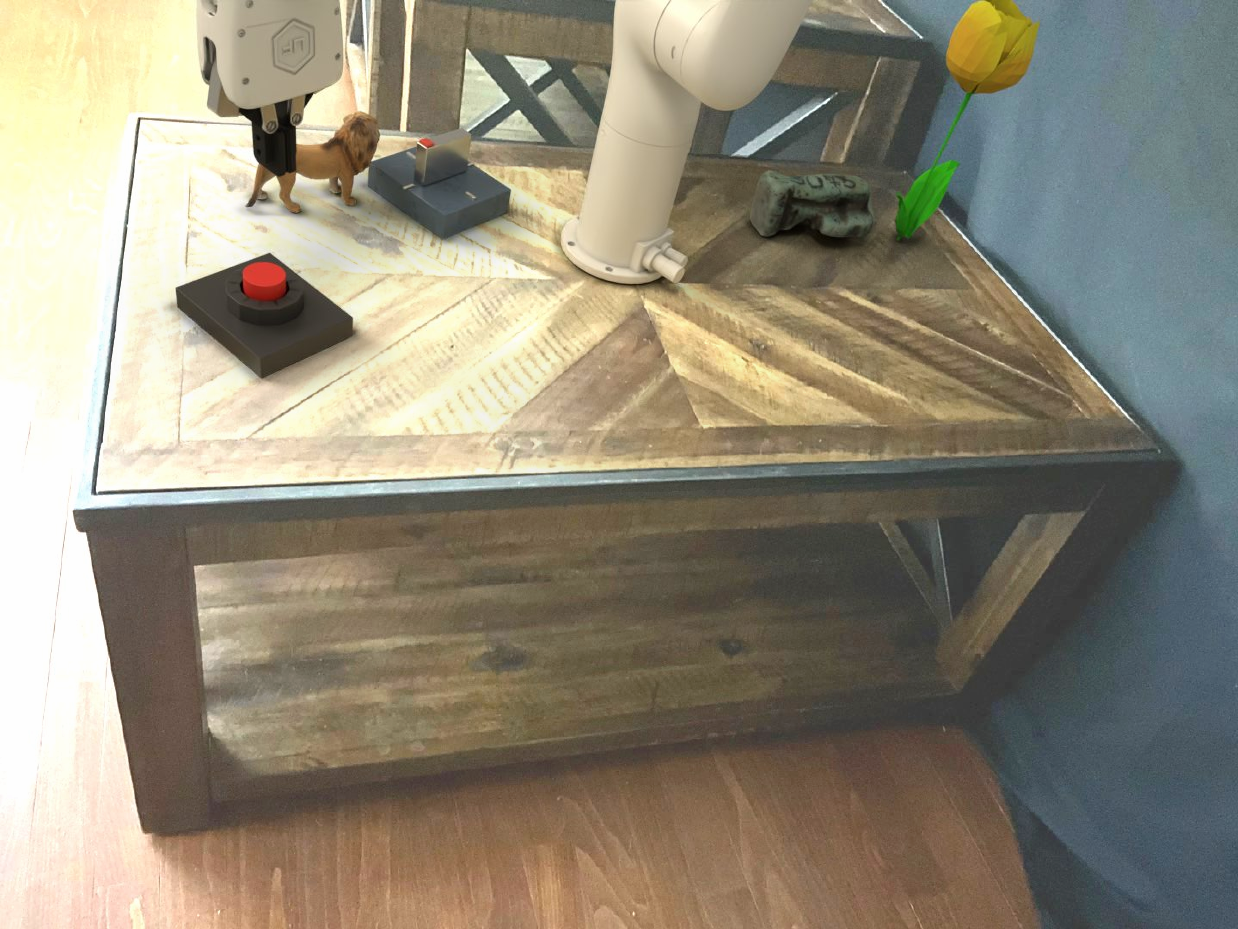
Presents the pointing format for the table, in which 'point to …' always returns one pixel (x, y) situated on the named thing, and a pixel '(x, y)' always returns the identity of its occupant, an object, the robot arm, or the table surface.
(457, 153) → the tap handle
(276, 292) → the red button
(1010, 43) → the flower
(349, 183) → the lion figurine
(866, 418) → the table surface
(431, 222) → the panel
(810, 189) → the sculpture
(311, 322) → the button box
